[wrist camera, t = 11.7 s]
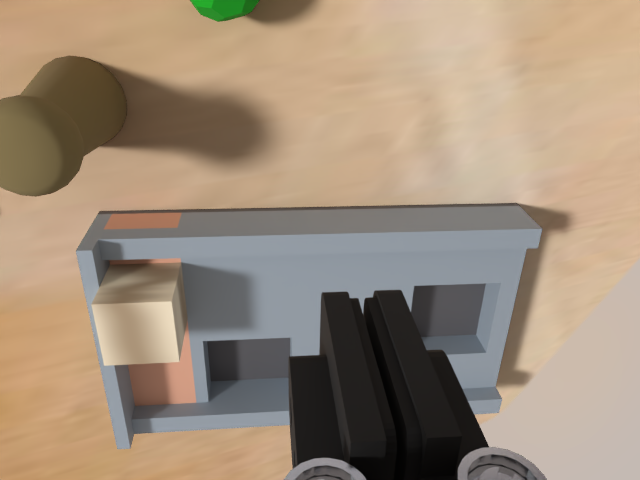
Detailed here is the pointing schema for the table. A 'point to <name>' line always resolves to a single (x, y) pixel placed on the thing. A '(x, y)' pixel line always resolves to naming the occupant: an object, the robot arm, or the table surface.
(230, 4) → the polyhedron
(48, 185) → the cork
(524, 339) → the table surface
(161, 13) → the table surface
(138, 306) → the maple block
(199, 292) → the box
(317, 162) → the table surface
